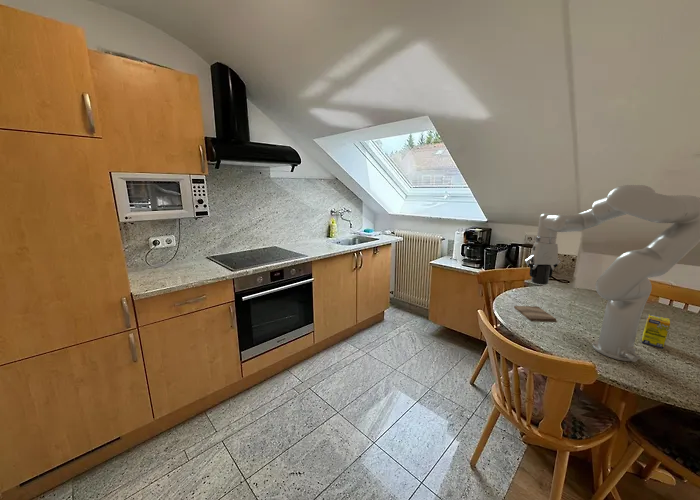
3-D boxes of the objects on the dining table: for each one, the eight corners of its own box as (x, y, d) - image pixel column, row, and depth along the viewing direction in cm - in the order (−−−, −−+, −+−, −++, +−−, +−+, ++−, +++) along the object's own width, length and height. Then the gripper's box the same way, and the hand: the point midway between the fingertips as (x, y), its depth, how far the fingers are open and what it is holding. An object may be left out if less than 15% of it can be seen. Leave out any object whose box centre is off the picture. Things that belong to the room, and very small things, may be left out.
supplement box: (641, 343, 113) (648, 318, 111) (641, 337, 117) (648, 313, 115) (663, 349, 109) (670, 323, 107) (662, 343, 113) (669, 318, 111)
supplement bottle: (542, 280, 138) (546, 257, 135) (551, 285, 131) (555, 260, 129) (528, 280, 139) (531, 256, 136) (535, 284, 132) (539, 260, 129)
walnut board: (555, 320, 132) (556, 318, 131) (529, 320, 132) (530, 318, 132) (537, 308, 145) (538, 306, 145) (514, 307, 146) (514, 305, 146)
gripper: (531, 241, 127) (526, 279, 131) (571, 241, 126) (564, 279, 130) (522, 238, 134) (517, 274, 138) (559, 238, 134) (553, 274, 138)
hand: (540, 276), depth 134 cm, fingers closed on supplement bottle, 6 cm apart
